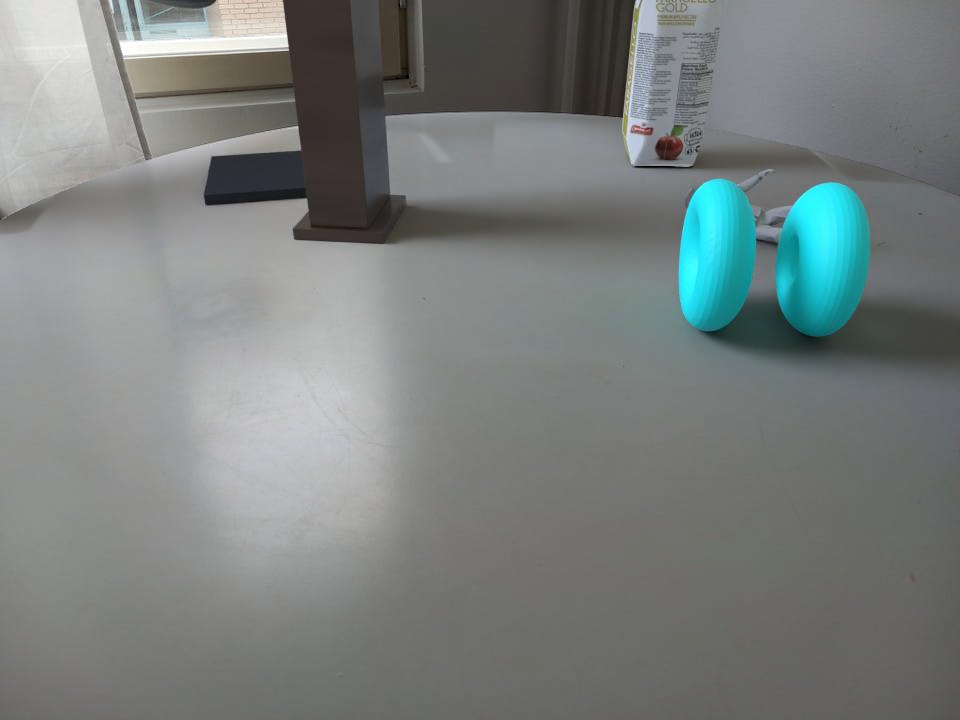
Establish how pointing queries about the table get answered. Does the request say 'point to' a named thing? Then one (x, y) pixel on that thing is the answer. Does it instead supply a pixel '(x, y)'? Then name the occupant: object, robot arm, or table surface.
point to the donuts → (799, 260)
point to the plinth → (341, 120)
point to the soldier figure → (758, 210)
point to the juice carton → (669, 79)
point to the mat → (255, 177)
